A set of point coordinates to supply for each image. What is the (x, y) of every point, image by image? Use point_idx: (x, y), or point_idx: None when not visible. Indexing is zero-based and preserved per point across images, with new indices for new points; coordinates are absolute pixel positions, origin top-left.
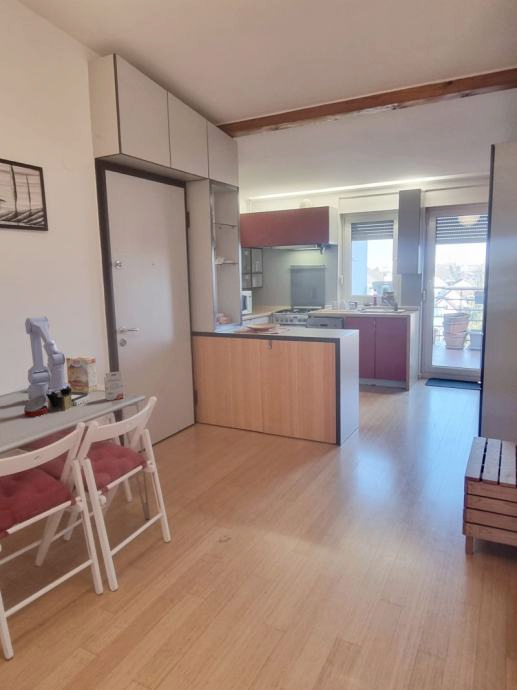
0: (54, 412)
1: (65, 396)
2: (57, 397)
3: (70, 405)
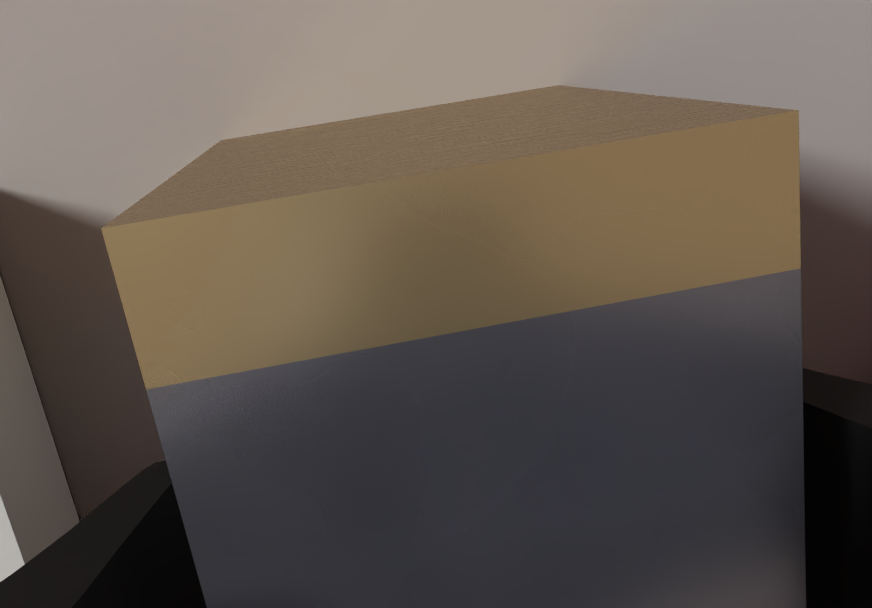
0: (827, 215)
1: (607, 213)
2: (784, 549)
3: (294, 135)
